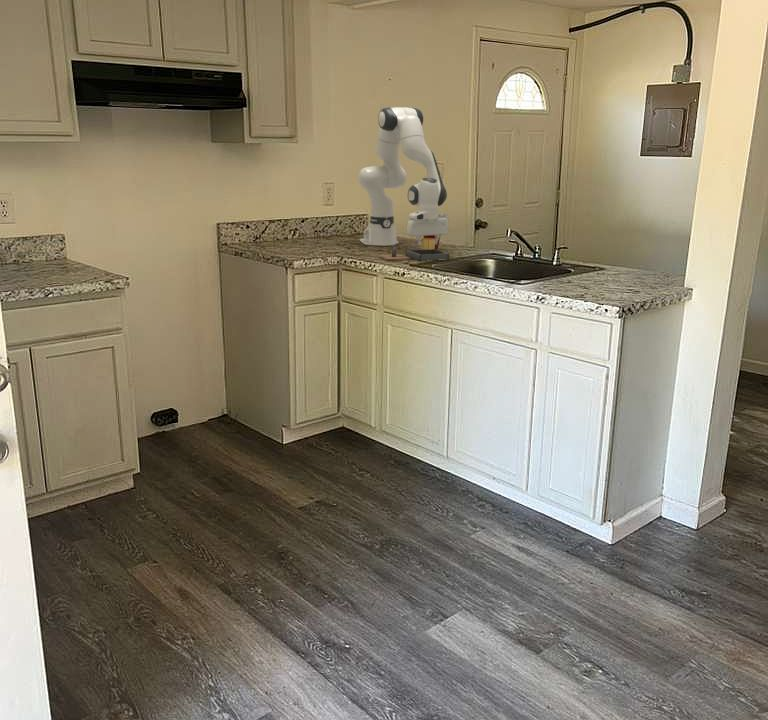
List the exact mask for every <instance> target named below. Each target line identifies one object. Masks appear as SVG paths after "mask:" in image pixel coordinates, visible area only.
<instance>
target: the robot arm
mask: <svg viewBox="0 0 768 720" xmlns="http://www.w3.org/2000/svg"><path fill="white" fill-rule="evenodd" d="M377 117H378V118H377V121H378V123H377V124H378V125H379V131H378V135H377V141H376V149H375V154H376V156H377V157H378V158H379V159H380V160H382V163H383V164H382V165H372V166H366V167H363V168H361V169H360V171H359V173H358V183H359V184H360V186H361V187H362V188H363V189H364V190H366V192H367V194H368V196H369V198H370V199H369V200H370V204H371V206H370V208H371V216H369V217H370V218H369V224H368V225H367V227H366V228H365V230H362V235H363V237H362V238H360V239H359V242H361V243H362V244H363V245H366V246H383V247H385V246H391V245H397V244H399V243H400V242H399V240H397V239H398V238H397V227H396V226H395V225H394V223H395V217H394V201H393V199H392V198H391V197H389V196H388V195H386V194H385V189H396V188H400V187H403V186H404V185H405V183H406V181H407V172H406V170H405V169H404V167H402V165H401V163H400V160H399V152H400V151H399V150H400V146H401V149H402V150H401V151H402V152H403V154H404V156H405V157H406V158H408V159H410V160H412V161H414V162H417V163H419V164H421V165H422V166H423V167H424V168H425V169H426V171H427V175H428V177H422V178H421V179H420V181H419V182H418V183H416V184H413V185H411V186H410V187H409V188H408V191H407V200H408V202H409V203H410V204H411V206H416V207H417V206H418V207H419V208H418V210H416V211H413V212H412V213H409V214H408V221H407V226H406V227H407V228H406V234H407V236H408V237H415V238H416V241H417V242H418V246H419V247H421V246H423V242H422V241H421V239H422V237H423V236H427V235H435V237H436V238H435V245H437V241H438V239H439V238H440V239H441V236H442V235H448V234H449V233H450V228H449V227H450V226H449V225H450V224H449V220H450V219H449V216H448V215H447V214H446V213H445V214H444V213H443V214H441V213H439V207H441V206H442V205H443V204H444V203H445V202H446V201H447V197H448V193H447V189H446V187H445V185H444V182H443V180H442V177H441V173H440V172H441V171H440V169H439V165H438V163H437V159H436V157H435V154H434V152H433V151H432V150H431V149H430V148H429V147H428V145H427V143H426V139H425V134H424V129H423V124H424V114H423V112H422V111H421V110H420V109H418V108H415V107H406V106H399V107H398V106H397V107H390V106H388V107H384V108H382V109H381V110H380V111H379V114H378V116H377ZM440 235H441V236H440Z"/></svg>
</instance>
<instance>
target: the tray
mask: <svg viewBox="0 0 768 720" xmlns="http://www.w3.org/2000/svg"><path fill="white" fill-rule="evenodd" d="M405 256H407V257H409V258H410V260H414V261H416V260H417V261H416V262H419V261H425V262H428V261H427V260H439V259H449V260H450V253H449V252H445V251H444V250H443V251H442V250H440V249H438V250H437V249H431V250H425V249H421V248H420V249H406V250H405Z"/></svg>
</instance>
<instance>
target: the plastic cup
mask: <svg viewBox="0 0 768 720" xmlns="http://www.w3.org/2000/svg"><path fill="white" fill-rule="evenodd" d="M441 236H442V235H440V238H439V239H438V241H437V245H435V249H437V250H439V244H440V240H441ZM422 238H434V239H435V238H436V237H435V235H427V236H422Z"/></svg>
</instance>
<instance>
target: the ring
mask: <svg viewBox="0 0 768 720" xmlns="http://www.w3.org/2000/svg"><path fill="white" fill-rule="evenodd" d="M420 240H421V241H422V242H423V246H420V249H425V250H431V249H435V239H434V238H424V237H421V238H420Z"/></svg>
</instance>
